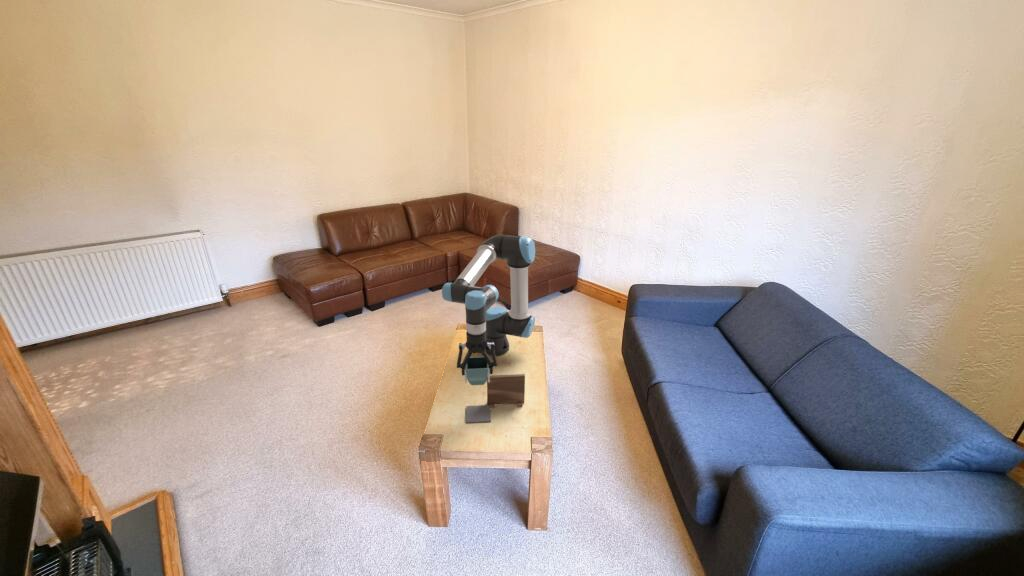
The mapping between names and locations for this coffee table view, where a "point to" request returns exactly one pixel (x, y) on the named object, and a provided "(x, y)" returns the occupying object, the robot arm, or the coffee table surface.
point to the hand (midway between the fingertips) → (477, 380)
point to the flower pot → (477, 370)
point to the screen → (506, 389)
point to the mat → (478, 414)
